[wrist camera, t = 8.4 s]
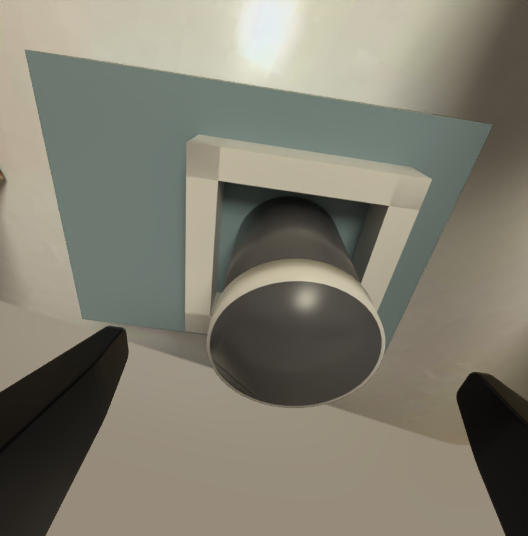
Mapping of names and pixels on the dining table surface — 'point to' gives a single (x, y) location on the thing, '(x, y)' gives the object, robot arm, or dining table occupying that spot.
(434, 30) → the dining table surface
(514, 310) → the dining table surface
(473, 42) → the dining table surface
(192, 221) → the teal base with frame
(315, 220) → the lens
